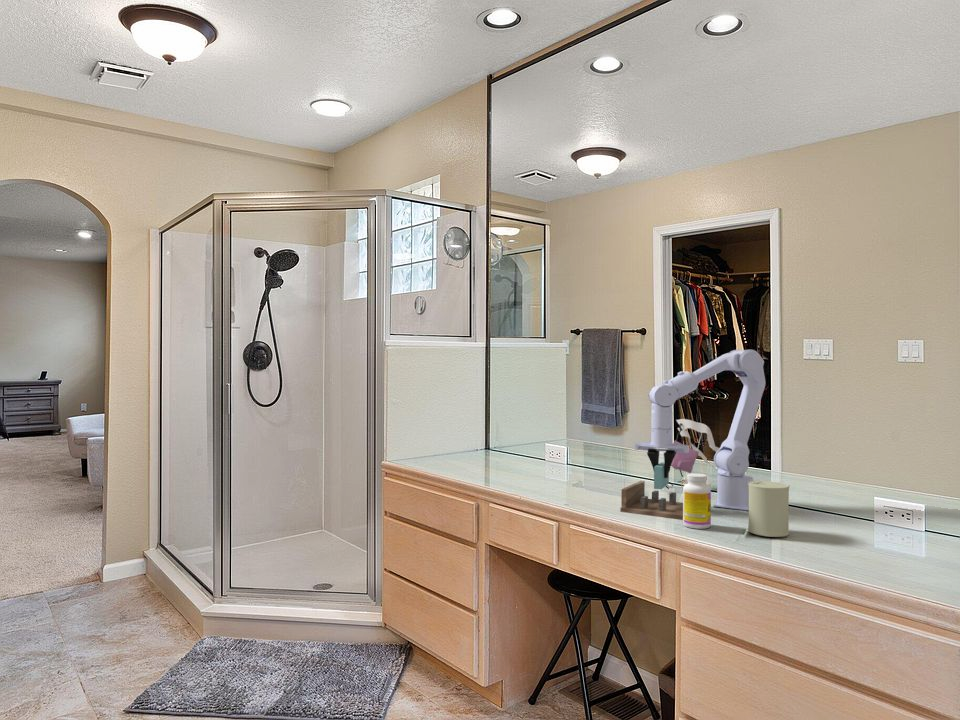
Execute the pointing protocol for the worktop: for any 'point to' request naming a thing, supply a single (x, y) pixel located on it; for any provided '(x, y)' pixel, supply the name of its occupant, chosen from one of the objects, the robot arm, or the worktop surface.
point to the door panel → (660, 476)
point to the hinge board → (649, 502)
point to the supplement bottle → (697, 502)
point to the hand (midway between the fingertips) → (661, 477)
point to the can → (768, 508)
